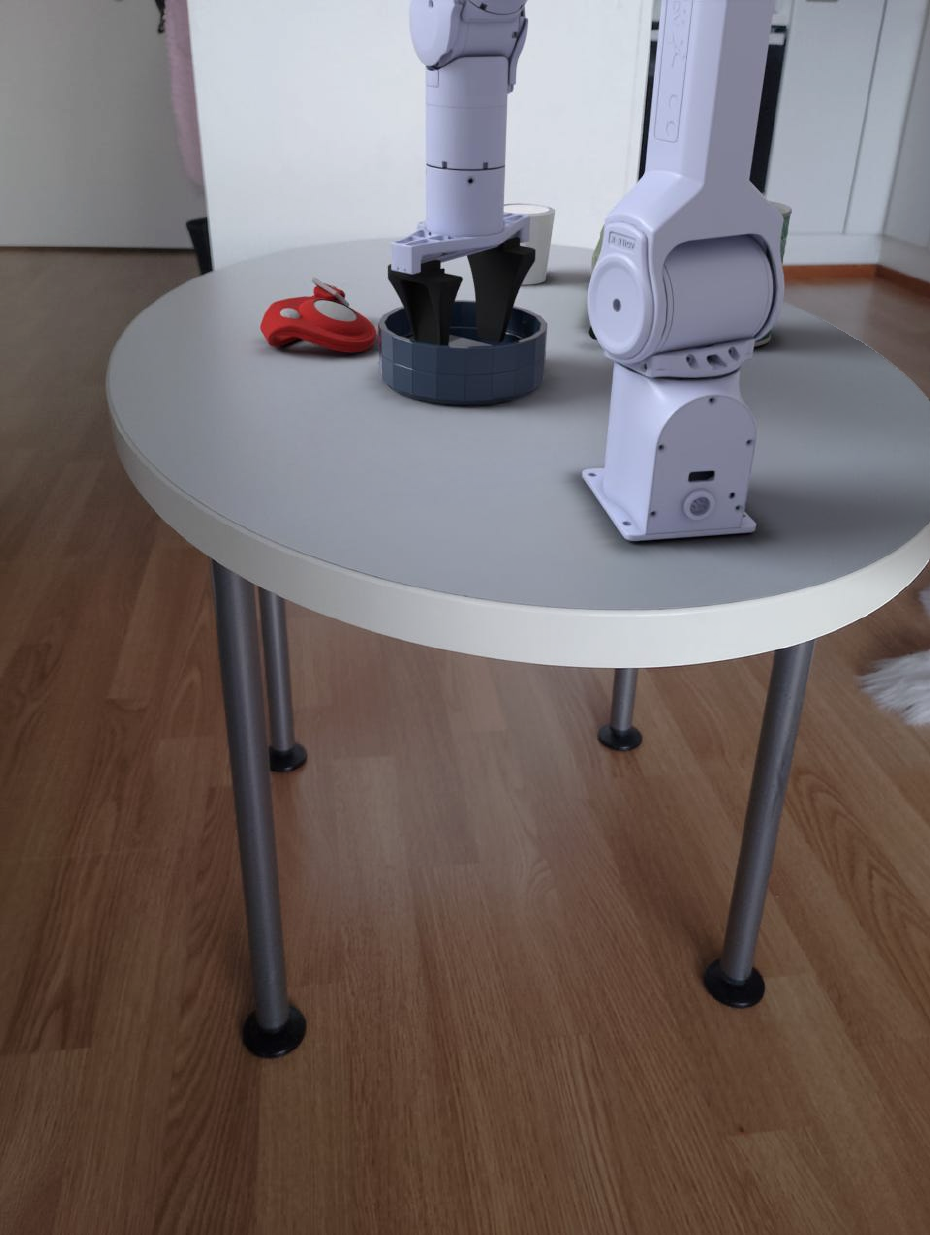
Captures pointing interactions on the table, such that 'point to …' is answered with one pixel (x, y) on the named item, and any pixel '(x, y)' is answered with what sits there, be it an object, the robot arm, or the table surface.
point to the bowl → (463, 359)
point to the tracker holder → (318, 321)
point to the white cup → (536, 237)
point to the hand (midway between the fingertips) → (462, 350)
